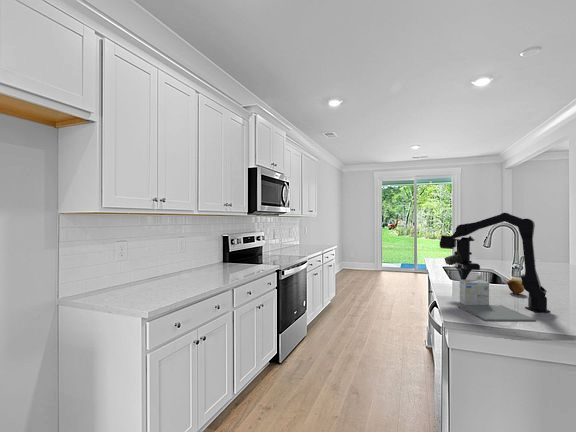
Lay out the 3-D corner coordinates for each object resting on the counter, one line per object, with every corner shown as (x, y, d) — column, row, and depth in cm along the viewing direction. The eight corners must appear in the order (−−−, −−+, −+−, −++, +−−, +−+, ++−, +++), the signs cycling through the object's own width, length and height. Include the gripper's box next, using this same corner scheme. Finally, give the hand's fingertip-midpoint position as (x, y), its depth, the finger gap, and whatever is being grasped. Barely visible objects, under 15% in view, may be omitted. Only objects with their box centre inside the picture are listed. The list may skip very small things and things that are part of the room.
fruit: (517, 296, 168) (517, 280, 168) (502, 292, 176) (503, 277, 176) (528, 295, 170) (529, 279, 170) (513, 291, 178) (514, 276, 178)
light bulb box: (482, 302, 155) (482, 279, 155) (489, 306, 149) (490, 282, 149) (458, 301, 156) (458, 278, 156) (464, 305, 150) (465, 281, 150)
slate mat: (535, 321, 128) (536, 319, 128) (485, 320, 128) (485, 319, 128) (501, 306, 148) (501, 305, 148) (457, 306, 148) (457, 305, 148)
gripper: (437, 247, 171) (437, 277, 171) (457, 252, 152) (456, 285, 152) (459, 248, 171) (459, 278, 171) (480, 252, 153) (480, 285, 153)
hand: (462, 281), depth 162 cm, fingers closed
